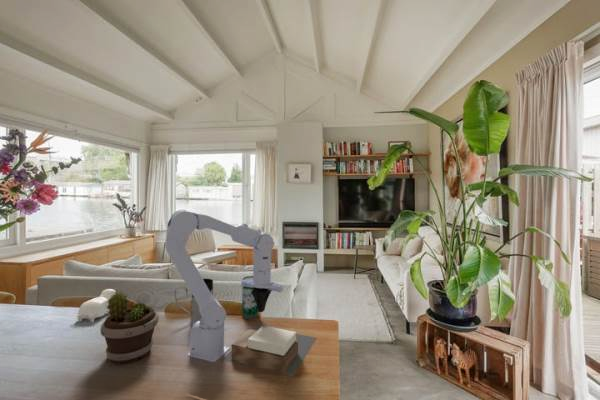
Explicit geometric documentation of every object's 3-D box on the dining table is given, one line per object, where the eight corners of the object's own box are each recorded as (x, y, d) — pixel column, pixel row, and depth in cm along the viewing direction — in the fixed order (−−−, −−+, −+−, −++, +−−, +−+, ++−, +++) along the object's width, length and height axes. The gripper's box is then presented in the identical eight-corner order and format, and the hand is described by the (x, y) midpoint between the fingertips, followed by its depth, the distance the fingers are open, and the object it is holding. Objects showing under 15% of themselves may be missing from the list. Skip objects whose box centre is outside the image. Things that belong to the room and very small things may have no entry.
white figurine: (99, 329, 104) (125, 301, 118) (92, 311, 101) (120, 284, 115) (77, 328, 104) (105, 300, 118) (70, 310, 101) (100, 284, 115)
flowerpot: (160, 337, 92) (161, 277, 92) (154, 363, 78) (155, 292, 78) (108, 345, 87) (109, 281, 87) (92, 374, 72) (93, 298, 72)
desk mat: (221, 360, 79) (221, 359, 79) (258, 327, 100) (258, 326, 100) (292, 378, 72) (292, 376, 72) (316, 338, 93) (316, 337, 93)
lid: (247, 347, 78) (247, 338, 78) (262, 333, 86) (263, 325, 86) (283, 355, 74) (284, 346, 74) (295, 339, 82) (296, 331, 82)
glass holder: (213, 324, 102) (213, 284, 102) (171, 328, 99) (172, 286, 99) (214, 315, 110) (215, 277, 110) (176, 318, 107) (177, 279, 107)
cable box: (231, 360, 79) (231, 344, 79) (249, 343, 88) (249, 329, 88) (284, 373, 73) (285, 356, 73) (297, 354, 83) (298, 338, 83)
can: (240, 318, 108) (240, 279, 108) (245, 312, 114) (246, 275, 114) (255, 319, 107) (255, 280, 107) (259, 313, 113) (260, 276, 113)
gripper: (287, 269, 92) (286, 310, 92) (249, 264, 97) (248, 303, 97) (277, 274, 85) (277, 318, 85) (237, 269, 91) (237, 310, 91)
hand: (261, 310), depth 91 cm, fingers closed
